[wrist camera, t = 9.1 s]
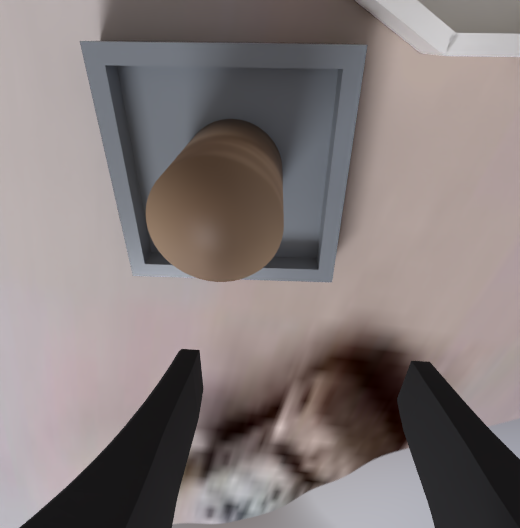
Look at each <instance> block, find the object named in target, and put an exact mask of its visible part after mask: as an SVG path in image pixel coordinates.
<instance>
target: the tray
mask: <svg viewBox="0 0 520 528" xmlns="http://www.w3.org/2000/svg"><path fill="white" fill-rule="evenodd" d="M80 45H81V49H82V53H83V58H84V62H85V67H86V71H87V76H88V80H89V84H90V89H91V93H92V98H93V102H94V106H95V111H96V115H97V120H98V124H99V129H100V133H101V137H102V142H103V146H104V151H105V155H106V159H107V164H108V168H109V173H110V177H111V181H112V186H113V190H114V195H115V199H116V204H117V208H118V212H119V217H120V221H121V226H122V230H123V234H124V239H125V243H126V248H127V252H128V257H129V261H130V265H131V270H132V274H133V276H155V277H185V278H196V277H193V276H190V275H188V274H186V273H184V272H182V271H181V270H179V269H177V268H176V267H175V266H173V265H172V264H171V263H170V262H168V261H167V260H166V259H165V258H164V257H163V255H162V254H161V253H160V252H159V251H158V249H157V248H156V246H155V245H154V243H153V241H152V239H151V237H150V234H149V231H148V227H147V223H146V204H147V200H148V196H149V194H150V191H151V189H152V187H153V185H154V184H155V182H156V181H157V180H158V178H159V177H160V176H161V175H162V174H163V173H164V171H165V170H166V169H167V168H168V167H169V166H170V164H171V163H172V162H173V161H174V160H175V158H176V157H177V156H178V155H179V154H180V153H181V151H182V150H183V149H184V148H185V147H186V146H187V144H188V143H189V142H190V141H191V140H192V139H193V137H194V136H195V135H196V134H197V133H198V132H199V131H200V130H201V129H202V128H204V127H205V126H207V125H208V124H210V123H213V122H215V121H219V120H223V119H238V120H243V121H247V122H250V123H252V124H254V125H256V126H257V127H259V128H261V129H262V130H263V131H264V132H266V133H267V134H268V135H269V137H270V138H271V139H272V140H273V142H274V143H275V145H276V147H277V148H278V151H279V153H280V157H281V161H282V173H283V212H284V231H283V237H282V240H281V243H280V246H279V248H278V250H277V252H276V254H275V255H274V257H273V258H272V259H271V261H270V262H269V263H268V264H267V265H266V266H264V267H263V268H262V269H261V270H259V271H258V272H256V273H255V274H253V275H250V276H248V277H246V278H243V279H245V280H275V281H306V282H332V278H333V272H334V265H335V258H336V252H337V245H338V238H339V231H340V225H341V218H342V211H343V205H344V198H345V191H346V185H347V178H348V171H349V165H350V158H351V151H352V145H353V138H354V131H355V124H356V118H357V111H358V104H359V98H360V91H361V84H362V78H363V71H364V64H365V58H366V51H367V45H362V44H304V43H225V42H147V41H80Z"/></svg>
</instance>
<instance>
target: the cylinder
mask: <svg viewBox="0 0 520 528" xmlns="http://www.w3.org/2000/svg"><path fill="white" fill-rule="evenodd" d="M146 223H147V227H148V231H149V234H150V237H151V239H152V241H153V243H154V245H155V246H156V248H157V249H158V251H159V252H160V253H161V254H162V255H163V257H164V258H165V259H166V260H167V261H168V262H170V263H171V264H172V265H173V266H175V267H176V268H177V269H179V270H181V271H182V272H184V273H186V274H188V275H190V276H193V277H196V278H199V279H203V280H207V281H214V282H227V281H235V280H240V279H243V278H246V277H248V276H250V275H253V274H255V273H256V272H258V271H259V270H261V269H262V268H263V267H264V266H266V265H267V264H268V263H269V262H270V261H271V259H272V258H273V257H274V255H275V254H276V252H277V250H278V248H279V246H280V243H281V240H282V237H283V231H284V212H283V173H282V161H281V157H280V153H279V151H278V148H277V147H276V145H275V143H274V142H273V140H272V139H271V138H270V137H269V135H268V134H267V133H266V132H264V131H263V130H262V129H261V128H259V127H257V126H256V125H254V124H252V123H250V122H247V121H243V120H238V119H223V120H219V121H215V122H213V123H210V124H208V125H207V126H205V127H204V128H202V129H201V130H200V131H199V132H198V133H197V134H196V135H195V136H194V137H193V139H192V140H191V141H190V142H189V143H188V144H187V146H186V147H185V148H184V149H183V150H182V151H181V153H180V154H179V155H178V156H177V157H176V158H175V160H174V161H173V162H172V163H171V164H170V166H169V167H168V168H167V169H166V170H165V171H164V173H163V174H162V175H161V176H160V177H159V178H158V180H157V181H156V182H155V184H154V185H153V187H152V189H151V191H150V194H149V196H148V200H147V204H146Z"/></svg>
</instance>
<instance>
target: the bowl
mask: <svg viewBox="0 0 520 528" xmlns="http://www.w3.org/2000/svg"><path fill="white" fill-rule="evenodd" d="M355 1H356V2H357V3H358V4H360V5H361V6H362V7H363V8H365V9H366V10H367V11H368V12H370V13H371V14H372V15H373V16H375V17H376V18H377V19H378V20H380V21H381V22H382V23H383V24H385V25H386V26H387V27H388V28H390V29H391V30H392V31H394V32H395V33H396V34H397V35H399V36H400V37H401V38H402V39H404V40H405V41H406V42H407V43H409V44H410V45H411V46H412V47H414V48H415V49H416V50H417V51H419V52H420V53H422V54H432V55H441V56H482V57H520V0H355Z"/></svg>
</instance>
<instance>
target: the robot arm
mask: <svg viewBox="0 0 520 528" xmlns="http://www.w3.org/2000/svg"><path fill="white" fill-rule="evenodd" d="M202 394H203V381H202V371H201V361H200V351H199V350H188V349H181V350H180V351H179V352H178V354H177V355H176V357H175V359H174V360H173V362H172V364H171V365H170V367H169V368H168V370H167V371H166V373H165V374H164V376H163V377H162V379H161V380H160V381H159V383H158V384H157V386H156V387H155V388H154V390H153V391H152V392H151V394H150V395H149V397H148V398H147V399H146V401H145V402H144V403H143V405H142V406H141V407H140V408H139V410H138V411H137V412H136V413H135V414H134V416H133V417H132V418H131V419H130V421H129V422H128V423H127V424H126V426H125V427H124V428H123V429H122V430H121V431H120V433H119V434H118V435H117V436H116V437H115V438H114V439H113V440H112V442H111V443H110V444H109V445H108V446H107V447H106V448H105V449H104V450H103V451H102V452H101V453H100V454H99V455H98V456H97V458H96V459H95V460H94V461H93V462H92V463H91V464H90V465H89V466H88V467H87V468H86V469H85V470H84V471H83V472H81V473H80V474H79V475H78V476H77V477H76V478H75V479H74V480H73V481H72V482H71V483H70V484H69V485H68V486H67V487H66V488H65V489H64V490H62V491H61V492H60V493H59V494H58V495H57V496H56V497H55V498H53V499H52V500H51V501H50V502H49V503H48V504H47V505H45V506H44V507H43V508H42V509H41V510H40V511H39V512H38V513H36V514H35V515H34V516H33V517H32V518H31V519H29V520H28V521H27V522H26V523H25V524H23V525H22V526H21V527H20V528H172V523H173V518H174V512H175V507H176V502H177V497H178V493H179V489H180V485H181V481H182V477H183V474H184V470H185V466H186V463H187V459H188V455H189V452H190V448H191V444H192V441H193V437H194V433H195V430H196V426H197V422H198V418H199V412H200V407H201V400H202ZM397 401H398V406H399V412H400V417H401V421H402V425H403V430H404V433H405V436H406V439H407V442H408V445H409V448H410V451H411V454H412V457H413V460H414V463H415V466H416V468H417V472H418V475H419V477H420V480H421V483H422V486H423V489H424V492H425V495H426V498H427V500H428V504H429V508H430V511H431V514H432V518H433V522H434V526H435V528H520V459H519V458H518V457H516V455H515V454H514V453H513V452H512V451H511V450H509V448H508V447H507V446H506V445H505V444H504V443H503V442H502V441H501V440H500V439H499V438H498V437H497V436H496V435H495V434H494V433H492V431H491V430H490V429H489V428H488V427H487V426H486V425H485V424H484V423H483V422H482V421H481V419H480V418H479V417H478V416H477V415H476V414H475V413H474V412H473V411H472V410H471V409H470V407H469V406H468V405H467V404H466V403H465V402H464V401H463V400H462V398H461V397H460V396H459V395H458V394H457V393H456V392H455V390H454V389H453V388H452V387H451V386H450V385H449V384H448V382H447V381H446V380H445V379H444V378H443V377H442V375H441V374H440V373H439V372H438V371H437V370H436V368H435V367H434V366H433V365H432V364H431V363H430V362H422V361H411V363H410V366H409V369H408V371H407V374H406V377H405V380H404V382H403V385H402V388H401V390H400V393H399V396H398V398H397Z"/></svg>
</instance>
